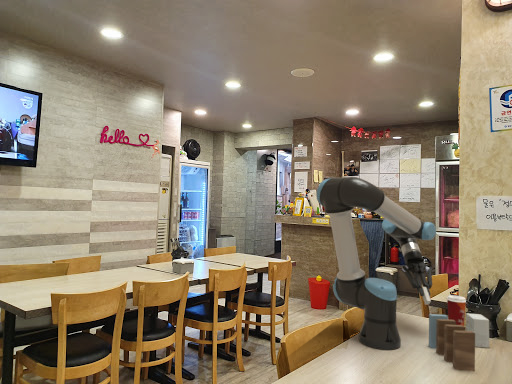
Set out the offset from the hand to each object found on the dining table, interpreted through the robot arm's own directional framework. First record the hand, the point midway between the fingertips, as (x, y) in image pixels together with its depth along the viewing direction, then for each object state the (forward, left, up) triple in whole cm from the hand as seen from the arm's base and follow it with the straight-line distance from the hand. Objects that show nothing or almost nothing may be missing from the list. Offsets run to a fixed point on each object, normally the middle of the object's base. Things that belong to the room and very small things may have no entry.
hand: (428, 302), depth 148 cm
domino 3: (+14, -23, -14) cm, 31 cm away
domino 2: (+11, -18, -14) cm, 25 cm away
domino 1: (+8, -13, -14) cm, 21 cm away
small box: (+17, +6, -14) cm, 23 cm away
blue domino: (+5, -8, -14) cm, 17 cm away
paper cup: (+9, +20, -14) cm, 26 cm away
